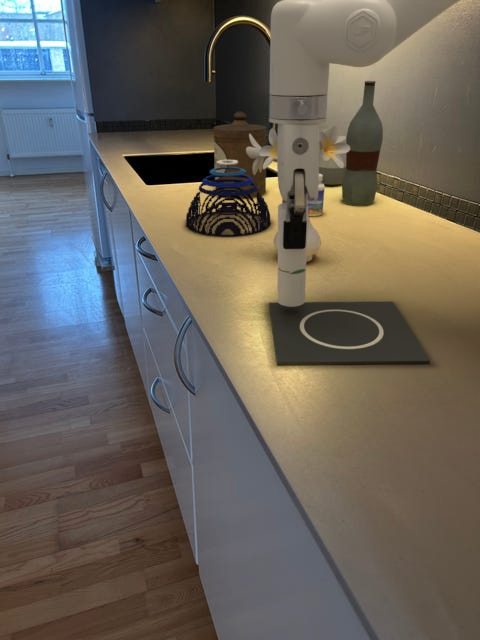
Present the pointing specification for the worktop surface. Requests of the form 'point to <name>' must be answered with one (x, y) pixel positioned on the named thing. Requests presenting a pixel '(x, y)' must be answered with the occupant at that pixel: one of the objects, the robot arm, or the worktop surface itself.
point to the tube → (290, 267)
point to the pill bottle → (317, 206)
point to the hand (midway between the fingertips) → (292, 241)
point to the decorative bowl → (228, 204)
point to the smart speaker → (333, 168)
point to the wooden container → (239, 151)
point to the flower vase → (326, 152)
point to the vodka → (363, 152)
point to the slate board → (343, 334)
